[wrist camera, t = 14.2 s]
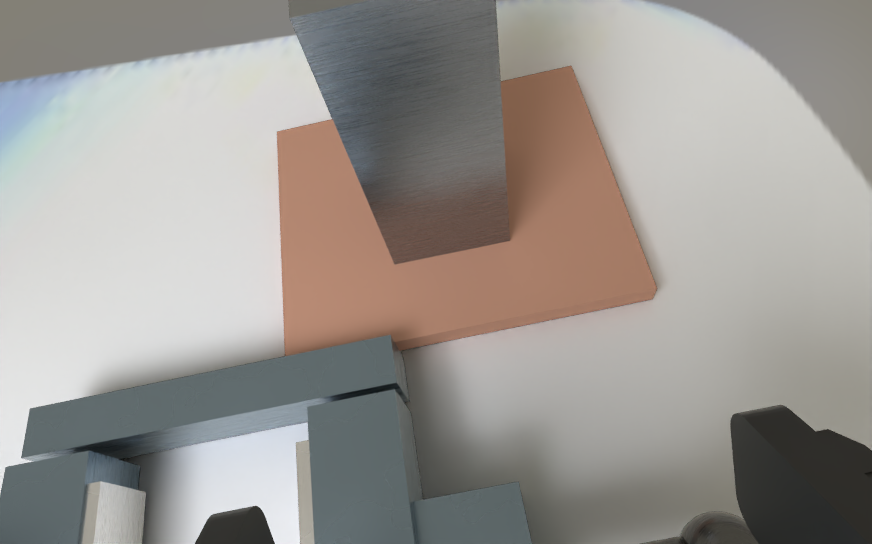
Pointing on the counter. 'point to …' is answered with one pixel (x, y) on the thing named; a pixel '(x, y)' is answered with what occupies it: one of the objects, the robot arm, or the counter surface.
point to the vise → (316, 458)
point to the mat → (469, 269)
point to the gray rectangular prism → (416, 115)
